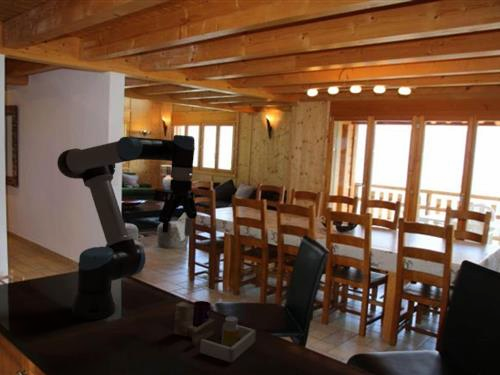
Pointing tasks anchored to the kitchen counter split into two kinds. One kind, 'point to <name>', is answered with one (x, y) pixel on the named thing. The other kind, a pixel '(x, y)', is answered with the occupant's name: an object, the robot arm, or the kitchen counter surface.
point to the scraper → (191, 324)
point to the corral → (229, 352)
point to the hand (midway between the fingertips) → (177, 238)
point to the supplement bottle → (230, 331)
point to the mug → (201, 312)
